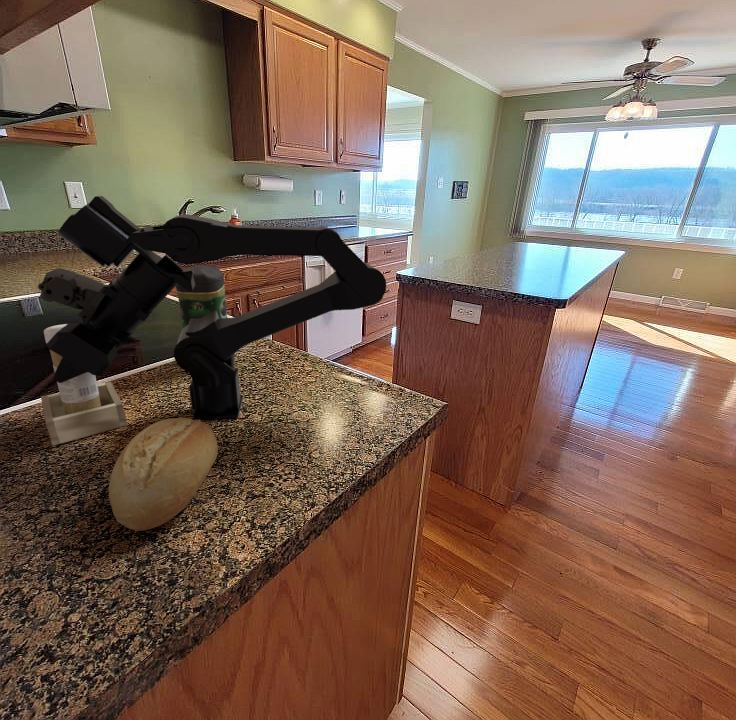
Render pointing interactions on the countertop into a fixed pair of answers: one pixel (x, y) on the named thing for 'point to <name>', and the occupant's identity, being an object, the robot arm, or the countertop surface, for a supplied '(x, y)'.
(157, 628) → the countertop surface
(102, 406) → the guard collar
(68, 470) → the countertop surface
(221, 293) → the coffee jar
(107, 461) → the countertop surface
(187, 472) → the bread roll
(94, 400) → the sprinkles bottle
